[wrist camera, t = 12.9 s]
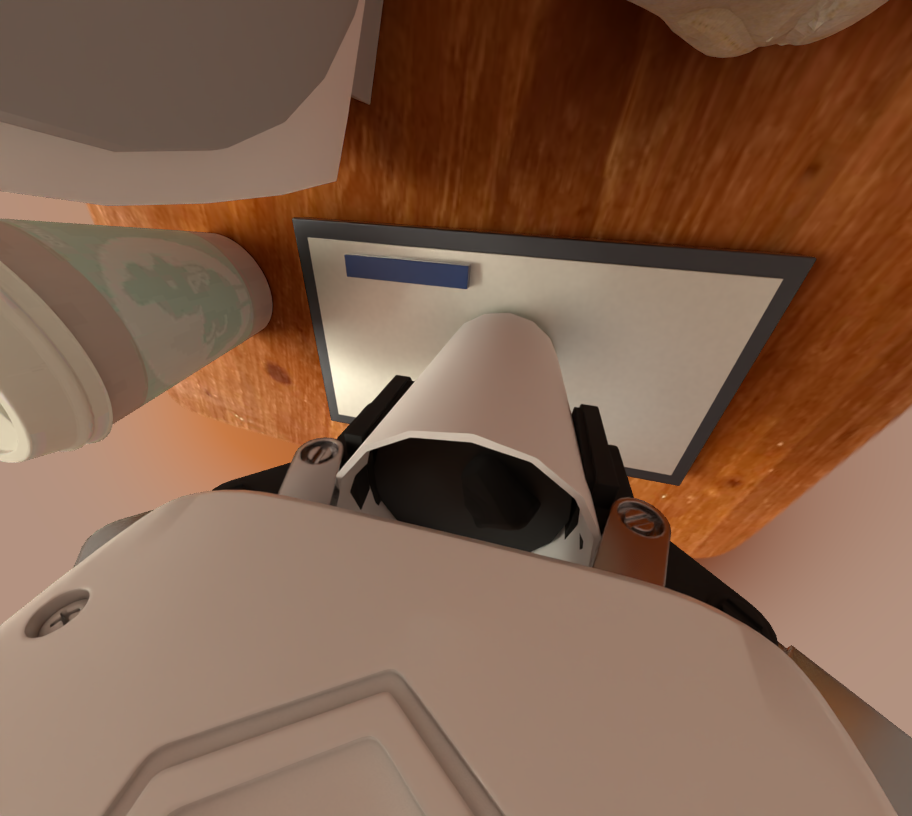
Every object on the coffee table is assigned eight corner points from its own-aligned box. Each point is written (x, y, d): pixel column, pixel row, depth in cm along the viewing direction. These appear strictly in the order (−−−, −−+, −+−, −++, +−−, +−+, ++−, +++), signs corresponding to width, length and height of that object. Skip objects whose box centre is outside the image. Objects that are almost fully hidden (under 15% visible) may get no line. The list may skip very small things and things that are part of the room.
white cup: (517, 270, 14) (482, 368, 5) (594, 386, 16) (656, 590, 7) (410, 353, 17) (285, 495, 9) (485, 441, 19) (442, 626, 11)
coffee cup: (294, 370, 22) (86, 506, 12) (181, 327, 22) (-116, 424, 12) (293, 233, 17) (-61, 270, 7) (147, 180, 17) (-389, 143, 7)
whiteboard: (799, 253, 13) (834, 260, 11) (673, 473, 19) (684, 496, 18) (304, 217, 16) (280, 217, 15) (339, 412, 23) (324, 427, 21)
